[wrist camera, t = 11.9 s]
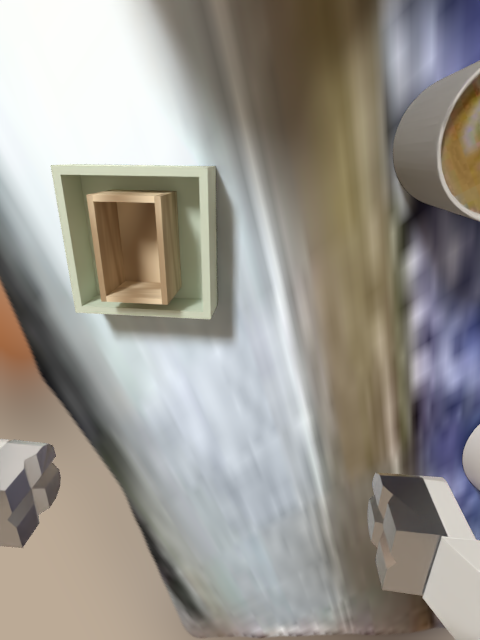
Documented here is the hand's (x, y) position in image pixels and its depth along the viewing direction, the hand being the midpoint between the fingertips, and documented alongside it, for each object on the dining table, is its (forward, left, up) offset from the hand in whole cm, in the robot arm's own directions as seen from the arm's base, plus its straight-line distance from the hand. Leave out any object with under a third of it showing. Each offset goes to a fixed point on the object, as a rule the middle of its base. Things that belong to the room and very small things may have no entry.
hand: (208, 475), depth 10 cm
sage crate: (+11, 0, -29) cm, 31 cm away
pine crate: (+11, 0, -28) cm, 30 cm away
